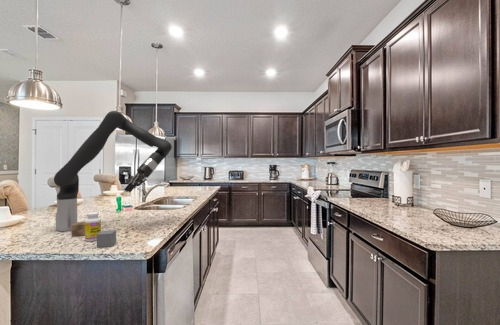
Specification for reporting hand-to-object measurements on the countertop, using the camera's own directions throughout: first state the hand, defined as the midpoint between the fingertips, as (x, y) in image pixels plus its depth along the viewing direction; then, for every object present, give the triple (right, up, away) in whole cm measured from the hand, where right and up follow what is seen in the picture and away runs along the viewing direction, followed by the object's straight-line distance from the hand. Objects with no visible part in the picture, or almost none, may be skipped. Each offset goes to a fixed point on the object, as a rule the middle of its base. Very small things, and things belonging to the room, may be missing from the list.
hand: (127, 190), depth 135 cm
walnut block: (-21, -22, -6) cm, 31 cm away
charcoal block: (+1, -22, -22) cm, 31 cm away
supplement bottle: (-10, -22, -14) cm, 28 cm away
